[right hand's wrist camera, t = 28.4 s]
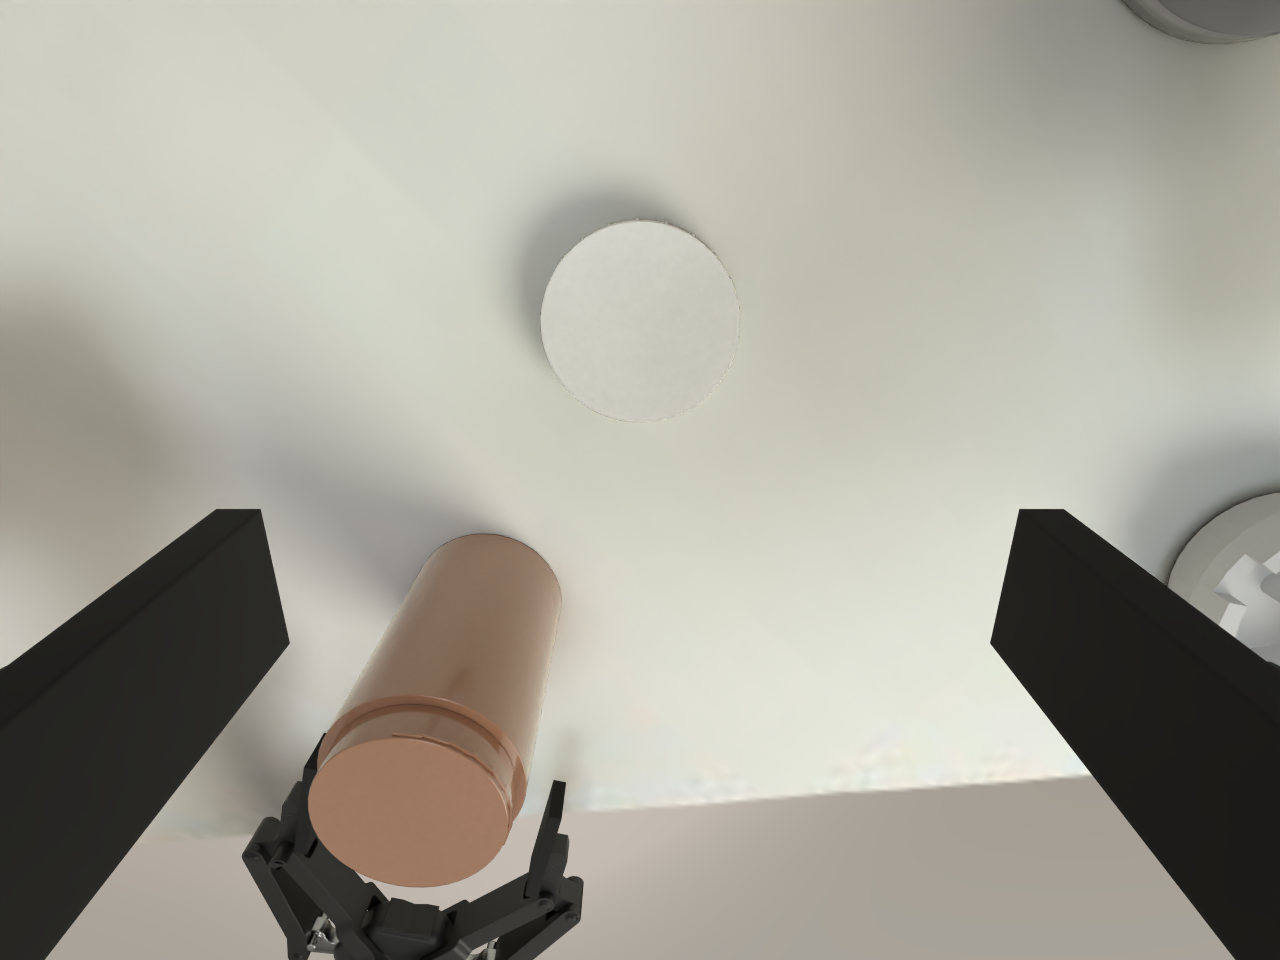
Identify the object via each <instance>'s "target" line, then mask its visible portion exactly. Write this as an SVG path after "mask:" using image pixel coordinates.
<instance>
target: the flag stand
mask: <svg viewBox="0 0 1280 960" xmlns="http://www.w3.org/2000/svg"><path fill="white" fill-rule="evenodd" d="M1168 588H1170V589H1171V590H1172V591H1174V592H1175V593H1176V594H1178V595H1179V596H1180V597H1182V598H1183V599H1184V600H1186V601H1187V602H1188V603H1190V604H1191V605H1192V606H1194V607H1195V608H1196V609H1198V610H1199V611H1200V612H1202V613H1203V614H1204V615H1206V616H1207V617H1208V618H1210V619H1211V620H1212V621H1214V622H1215V623H1216V624H1218V625H1219V626H1220V627H1222V628H1223V629H1224V630H1226V631H1227V632H1228V633H1230V634H1231V635H1232V636H1234V637H1235V638H1236V639H1238V640H1239V641H1240V642H1242V643H1243V644H1244V645H1246V646H1247V647H1248V648H1250V649H1251V650H1252V651H1254V652H1255V653H1256V654H1258V655H1259V656H1260V657H1262V658H1263V659H1264V660H1266V661H1267V662H1273V663H1275V664H1277V665H1279V666H1280V493H1272V494H1268V495H1264V496H1260V497H1256V498H1253V499H1250V500H1248V501H1245V502H1243V503H1241V504H1238V505H1236V506H1234V507H1232V508H1230V509H1229V510H1227V511H1225V512H1224V513H1222V514H1220V515H1218V516H1217V517H1216V518H1214V519H1213V520H1212V521H1211V522H1209V523H1208V524H1207V525H1206V526H1204V527H1203V528H1202V529H1201V530H1200V531H1199V532H1198V533H1197V534H1196V535H1195V536H1194V537H1193V538H1192V539H1191V540H1190V541H1189V542H1188V544H1187V545H1186V547H1185V548H1184V550H1183V551H1182V553H1181V554H1180V556H1179V557H1178V559H1177V561H1176V563H1175V565H1174V568H1173V570H1172V572H1171V574H1170V579H1169V584H1168Z"/></svg>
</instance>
